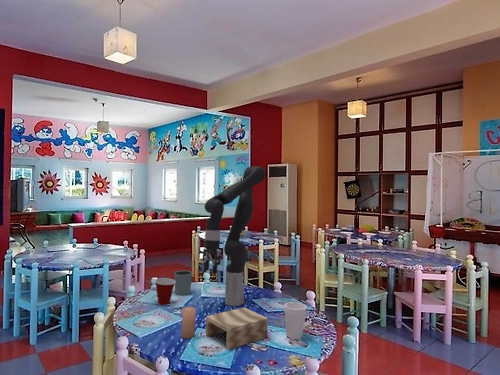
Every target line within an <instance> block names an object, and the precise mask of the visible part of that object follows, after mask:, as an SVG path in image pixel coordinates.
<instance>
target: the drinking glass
mask: <svg viewBox="0 0 500 375" xmlns="http://www.w3.org/2000/svg"><path fill="white" fill-rule="evenodd" d="M173 277H174V278H173V280H175V281H176V283H175V284H174V294H175V295H176V296H188V295H190V294H191V285H192V278H193V272H192V271H190V270H177V271H174V273H173Z"/></svg>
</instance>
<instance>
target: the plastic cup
mask: <svg viewBox="0 0 500 375" xmlns="http://www.w3.org/2000/svg"><path fill="white" fill-rule="evenodd" d="M154 282H155V288H156V295H157V296H156V297H157V302H158V305H160V306H161V305H162V306H166V305H169V304H171V303H170V302H171V299H172V295H173V291H174V290H173V289H174V288H175V283H176V281H175V280H174V278H173V279H172V278H167V277H160V278H155V279H154Z"/></svg>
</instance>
